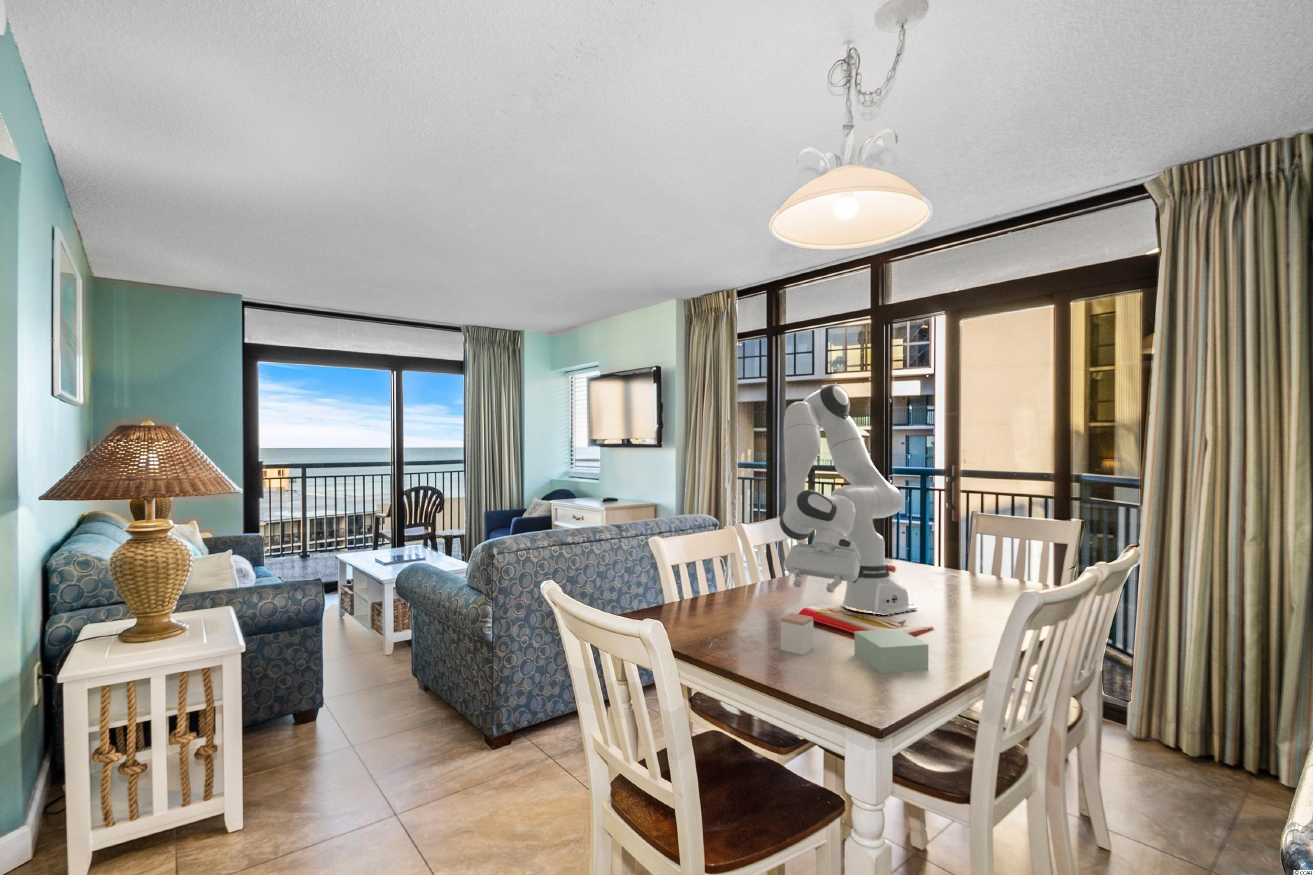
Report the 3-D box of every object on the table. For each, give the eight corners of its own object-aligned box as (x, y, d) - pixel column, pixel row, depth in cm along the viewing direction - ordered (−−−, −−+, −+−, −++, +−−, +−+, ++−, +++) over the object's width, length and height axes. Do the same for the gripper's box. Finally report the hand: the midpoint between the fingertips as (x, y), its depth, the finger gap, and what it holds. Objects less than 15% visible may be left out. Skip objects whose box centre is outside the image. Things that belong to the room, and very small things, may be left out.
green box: (898, 652, 155) (898, 628, 155) (928, 670, 143) (928, 644, 143) (854, 655, 153) (854, 631, 153) (880, 673, 141) (880, 647, 141)
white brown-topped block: (791, 643, 161) (791, 612, 161) (813, 648, 157) (813, 617, 157) (780, 649, 156) (780, 618, 156) (803, 655, 152) (803, 622, 152)
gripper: (790, 536, 178) (773, 576, 170) (860, 543, 165) (845, 587, 157) (797, 549, 181) (781, 589, 173) (866, 558, 168) (852, 601, 160)
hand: (812, 588), depth 165 cm, fingers open, 8 cm apart
